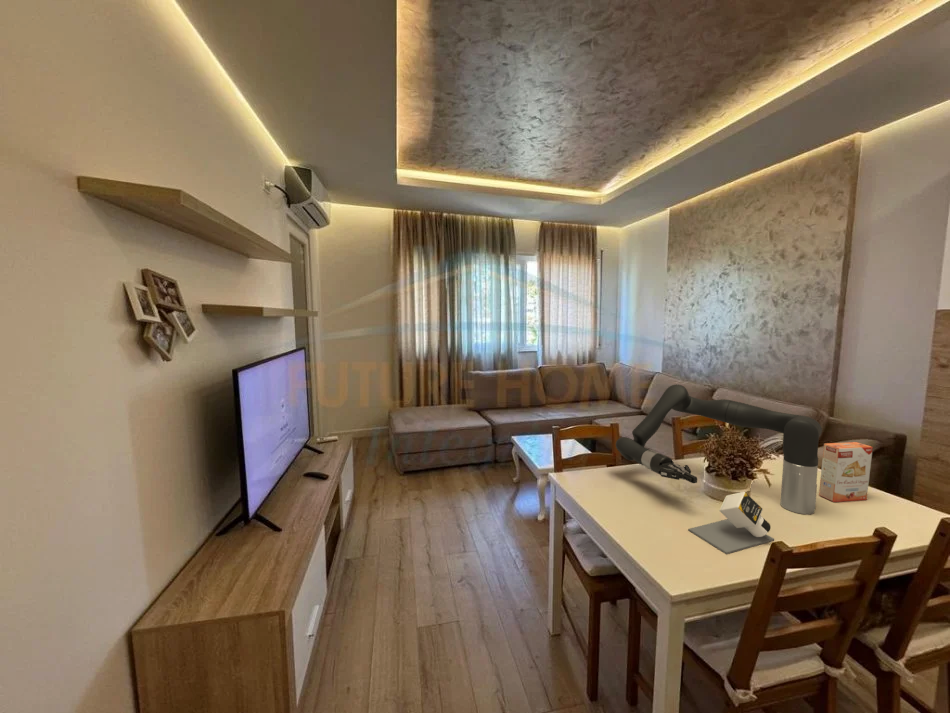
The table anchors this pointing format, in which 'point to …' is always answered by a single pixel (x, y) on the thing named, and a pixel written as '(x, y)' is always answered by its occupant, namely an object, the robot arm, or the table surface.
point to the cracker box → (845, 471)
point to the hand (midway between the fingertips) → (695, 480)
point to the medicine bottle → (745, 514)
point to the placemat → (728, 536)
